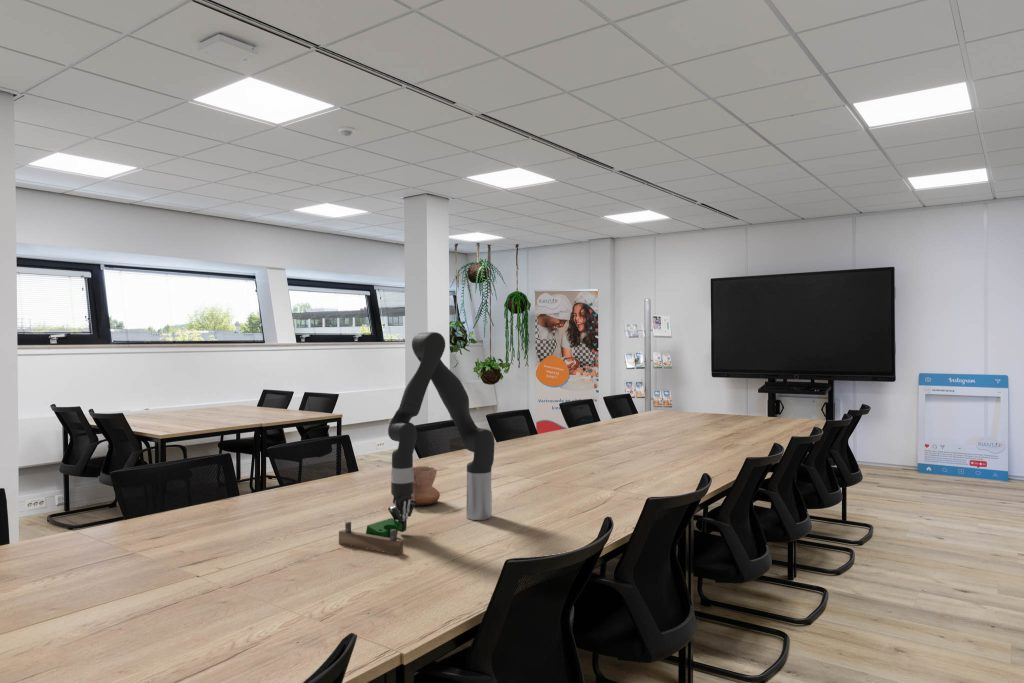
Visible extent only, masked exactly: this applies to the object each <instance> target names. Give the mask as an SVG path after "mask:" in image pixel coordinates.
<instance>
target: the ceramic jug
mask: <svg viewBox="0 0 1024 683" xmlns="http://www.w3.org/2000/svg"><path fill="white" fill-rule="evenodd" d="M437 471H438V468H437V467H435V466H429V465H419V466H413V474H414V492H413V494H412V495H411V496H412V499H413V500H416V503H415V506H420V505H422V506H430V505H433V504H435V503H436V502H438V500H440V497H441V494H440V491H439V490H438V489H437V488H435V487H433V485H434V481H435V480H436V476H437Z"/></svg>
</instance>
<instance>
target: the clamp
mask: <svg viewBox="0 0 1024 683" xmlns="http://www.w3.org/2000/svg"><path fill="white" fill-rule="evenodd" d="M402 527H403V524H402V523H400V522H398V520H394V519H393V517H391V518H387V519H385V520H381V521H378V522H375V523H371V524H368V525H367V526H366V531H365V534H370V535H376V536H382V537H387V538H390V530H392V529H396V539H397V537H398V532H400V531H399V530H402Z"/></svg>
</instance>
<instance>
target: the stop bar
mask: <svg viewBox="0 0 1024 683" xmlns="http://www.w3.org/2000/svg"><path fill="white" fill-rule="evenodd" d="M344 528H345V529H341V530H339V531H338V544H339V543H340V544H339V545H343V544H345V545H344V546H348V545H352V546H351V547H353V546H356V547H355V548H359V547H362V548H361V549H364V548H368V549H367V550H369V549H373V550H372V551H375V550H379V551H378V552H380V551H384V552H383V553H385V552H388V553H387V554H391V553H393V554H392V555H396V554H398V556H400V555H403V554H404V540H403V539H397V538H396V529H392V530H390V538H387V537H382V536H376V535H370V534H366V533H364V532H357V531H353V530H352V522H351V521H346V522H345V527H344ZM402 553H403V554H402Z"/></svg>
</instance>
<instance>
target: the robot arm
mask: <svg viewBox="0 0 1024 683" xmlns="http://www.w3.org/2000/svg"><path fill="white" fill-rule="evenodd" d="M411 348H412V351H413V354H414V355H415V357H416V358H417V359H418V362H419V363H420V364H419V366H418V367H417V370H416V372H414V374H413V376H412V377H411V378H410V380H409V382H408V383H407V384H406V387H405V388H404V391H403V393H402V394H403V395H402V396H401V400H400V404H399V406H398V409H397V410H396V411H395V413H394V415H393V417H392V418H391V420H390V422H389V425H388V428H387V434H388V437H389V438H390V440H391V441H394V442H397V443H398V446H397V449H394V450H393V451H392V454H391V473H390V493H391V495H392V496H393V499H392V505H391V506H388V509H387V510H388V512H389V513H390V516H391V518H393V519H394V520H396V521H398V522H400V523H402V524H403V527H402V530H399V531H398V532H402V533H403V532H406V531H407V528H408V527H407V521H408V519H409V517H411V516H412V514H413V511H414V508H415V506H416V505H415V503H416V500H413V499H412V496H411V495H412V494H413V492H414V474H413V467H414V466H413V465H414V461H413V460H414V457H413V454H414V451H415V446H416V443H417V438H418V431H417V428H416V426H415V425H414V423H413V422H410V421H411V419H413V418H414V417H417V416H418V415H419V413H420V410H421V408H422V405H423V401H424V398H425V394H426V392H427V389H428V387H429V384H430V382H432V384H433V386H434V388H435V390H436V391H437V393H438V396H439V398H440V400H441V402H442V403H443V405H444V406H445V408H446V410H447V412H448V414H449V416H450V417H451V419H452V421H453V423H454V425H455V427H456V430H457V432H458V434H459V437H460V441H461V442H462V444H463V447H464V448H465V449H466V450H467V451H469V452H471V453H473V460H472V461H469V462H468V463H467V464H466V518H467V519H468V520H472V521H484V520H489V519H491V518H492V512H493V510H492V509H493V508H492V507H493V505H492V504H493V499H492V498H493V492H492V469H493V467H492V466H493V464H494V461H495V437H494V434H493V432H492V431H491V430H490V429H487V428H481V427H478V426H477V424H476V423H475V421H474V420H473V418H472V416H471V413H470V400H469V396H468V393H467V391H466V389H465V387H464V385H463V383H462V382H461V380H460V379H459V377H458V376H457V375H456V374H455V373H454V372H452V371H451V369H450V368H448V367H447V366H446V365H445V363H444V362H443V361H442V357H443V355H444V352H445V350H446V339H445V337H444V336H443V335H442V334H441V333H439V332H434V331H429V332H428V331H426V332H425V331H424V332H419V333H417V334H415V335H414V336H413V338H412V341H411Z"/></svg>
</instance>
